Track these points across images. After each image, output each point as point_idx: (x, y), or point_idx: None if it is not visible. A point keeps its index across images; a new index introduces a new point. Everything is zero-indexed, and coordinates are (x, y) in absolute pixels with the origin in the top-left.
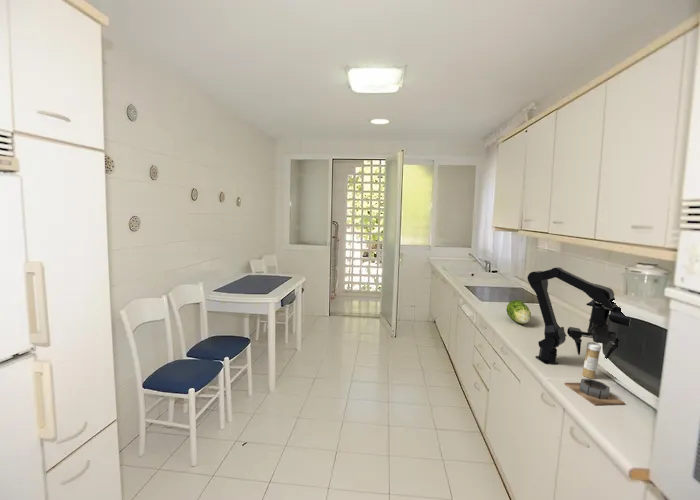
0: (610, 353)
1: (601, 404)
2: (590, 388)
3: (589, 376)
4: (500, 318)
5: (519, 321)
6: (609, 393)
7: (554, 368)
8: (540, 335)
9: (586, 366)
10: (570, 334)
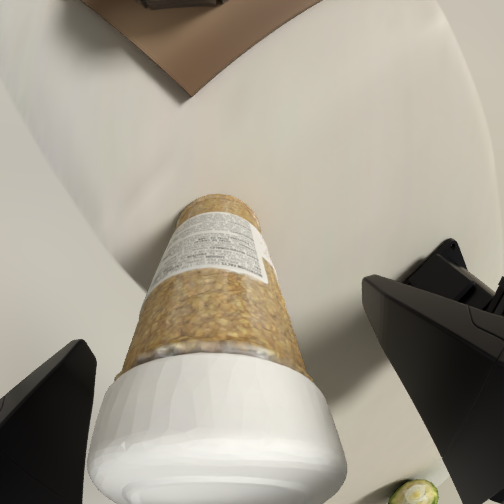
0: (11, 395)
1: None
2: None
3: (211, 197)
4: (439, 468)
5: (421, 481)
6: (96, 6)
7: (415, 204)
8: (373, 474)
9: (249, 227)
10: None
